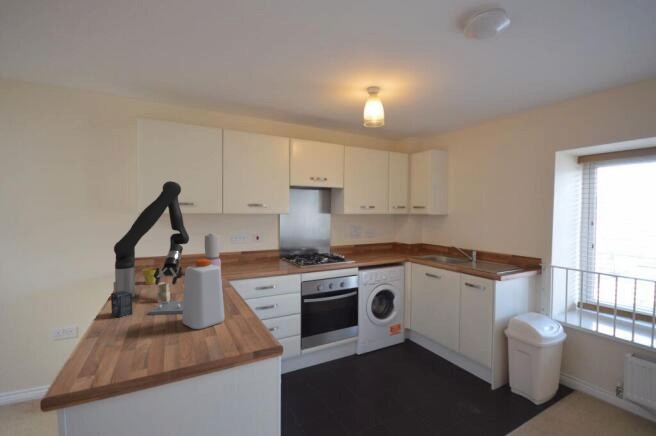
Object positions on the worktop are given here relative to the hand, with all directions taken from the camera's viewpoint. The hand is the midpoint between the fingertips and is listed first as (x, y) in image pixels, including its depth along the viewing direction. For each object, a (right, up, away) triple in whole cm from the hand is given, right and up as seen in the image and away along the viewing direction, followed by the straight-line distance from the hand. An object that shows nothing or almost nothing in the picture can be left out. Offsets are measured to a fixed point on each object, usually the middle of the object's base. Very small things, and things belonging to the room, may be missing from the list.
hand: (165, 284), depth 166 cm
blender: (+1, -7, +68) cm, 69 cm away
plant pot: (-31, -8, +39) cm, 51 cm away
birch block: (0, -9, -1) cm, 9 cm away
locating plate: (+12, -9, -14) cm, 20 cm away
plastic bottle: (+35, -10, -32) cm, 49 cm away
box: (-9, -10, -22) cm, 26 cm away
